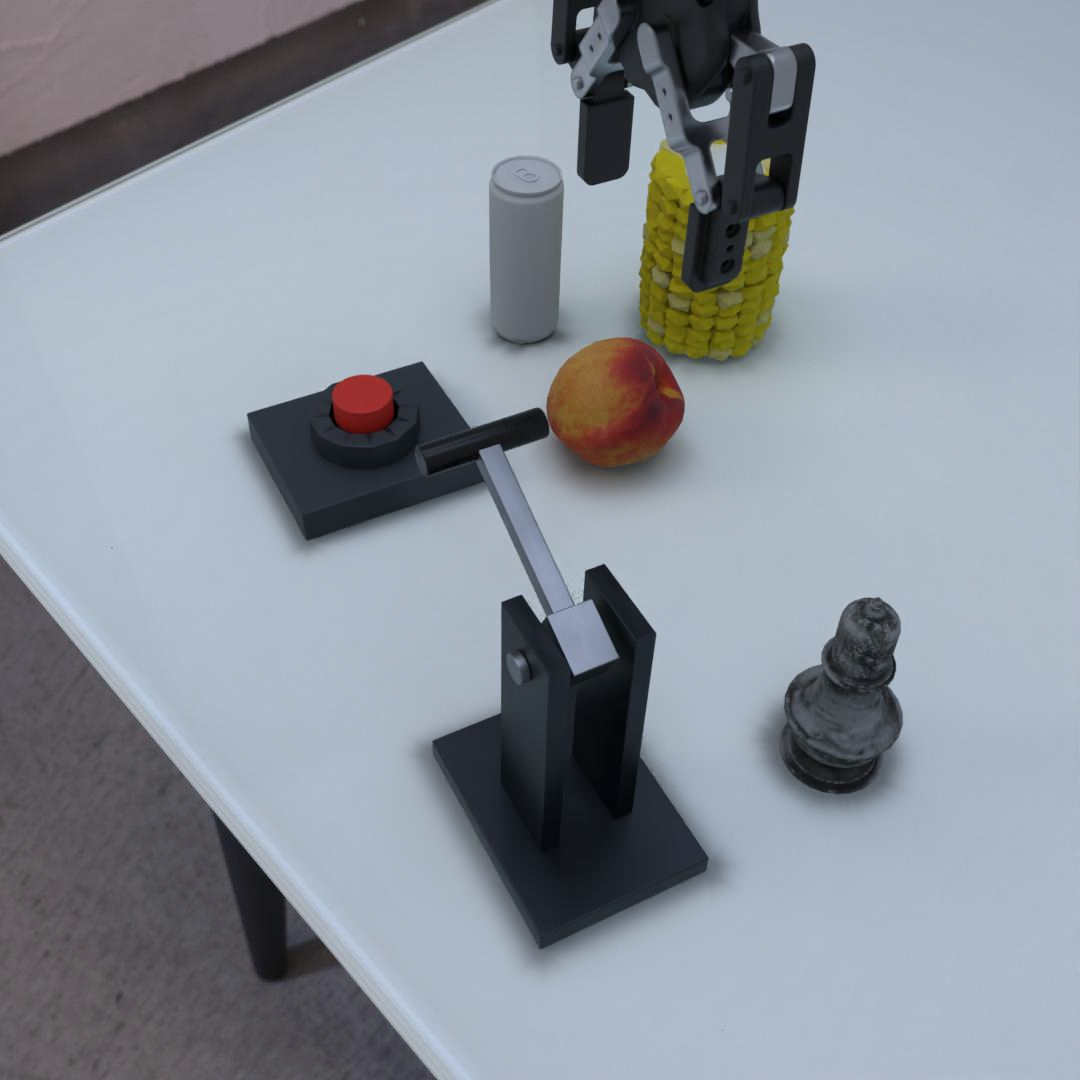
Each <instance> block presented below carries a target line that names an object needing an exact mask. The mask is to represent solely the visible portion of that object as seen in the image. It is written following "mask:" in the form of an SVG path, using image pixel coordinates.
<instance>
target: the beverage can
mask: <svg viewBox="0 0 1080 1080" xmlns="http://www.w3.org/2000/svg"><path fill="white" fill-rule="evenodd" d="M490 175H491V176H490V179H489V183H488V236H489V237H488V241H489V243H488V247H489V249H488V251H489V252H488V253H489V289H490V290H489V293H490V295H489V297H490V298H489V300H490V301H489V302H490V323H491V325H492V327H493V329H494V330H495V331H496V332H497V333H498V335H500V336H501V337H502V338H503V339H505V340H507V341H510V342H513V343H518V344H532V343H536V342H539V341H542V340H544V339H545V338H548V336H550V335H551V334H552V333H553V332H554V331H555V330H556V328H557V327H558V323H559V320H560V319H559V318H560V317H559V315H560V291H561V267H562V245H563V221H564V220H563V219H564V199H565V198H564V196H565V194H564V193H565V183H564V180H563V172H562V169H561V168H560V166H559V165H558V164H556V163H555V162H554V161H553V160H550V159H548V158H545V157H542V156H537V155H531V154H530V155H529V154H528V155H527V154H525V155H524V154H523V155H514V156H510V157H507V158H504V159H502V160H500V161H498V162H497V163H496V164H494V166H493V167H492V169H491V171H490Z"/></svg>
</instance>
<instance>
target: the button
mask: <svg viewBox="0 0 1080 1080" xmlns="http://www.w3.org/2000/svg"><path fill="white" fill-rule="evenodd" d="M340 381H341V382H340ZM340 381H338V382H339V383H338V384H337V385H336V387H335V388H334V390H333V393H332V399H333V408H334V416H335V421H336V423H337V424H338V425H339V427H341V428H342V429H343V430H345V431H347V432H349V433H358V434H371V433H374V432H377V431H380V430H383V429H384V428H386V427H387V426H388V425H389V424H390V423H391V422H392V420H393V417H394V404H393V392H392V388H391V386H390V385H389V383H388V382H386V381H385V380H384V379H382V378H380V377H377V376H374V375H373V374H355V375H350V376H348V377H346V378H344V379H342V380H340Z"/></svg>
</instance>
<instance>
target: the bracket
mask: <svg viewBox="0 0 1080 1080" xmlns="http://www.w3.org/2000/svg"><path fill="white" fill-rule="evenodd" d="M589 599H593V602H594V604H595V606H596V608H597V610H598V612H599V614H600V616H601V619H602V621H603V623H604V625H605V627H606V629H607V631H608V634H609V636H610V638H611V640H612V642H613V644H614V646H615V649H616V651H617V653H618V655H619V657H620V658H619V659H618V660H617V661H616V662H615V663H614V664H613V665H612V666H611V667H610V668H609V669H608V670H607V671H606V672H605V673H603V674H601V675H598V676H596V677H593V678H591V679H588V680H586V681H583V682H581V683H578V684H576V685H574V686H571V687H570V676H571V667H570V665H569V664H568V662H567V661H566V659H565V658H564V657H563V655H562V654H561V652H560V651H559V649H558V648H557V646H556V645H555V643H554V642H553V640H552V639H551V637H550V636H549V634H548V633H547V631H546V630H545V628H544V627H543V625H542V624H541V623H542V621H540V619H539V618H538V616H537V615H536V613H535V612H534V610H533V609H532V607H531V606H530V605H529V602H528V601H527V599H526V598H525V597H524V595H523V594H519V595H516V596H514V597H511V598H508V599H505V600H503V601H501V603H500V618H501V619H500V713H497V714H494V715H492V716H490V717H488V718H485V719H482V720H480V721H477V722H475V723H472V724H470V725H468V726H464V727H463V728H460V729H457V730H454V731H452V732H450V733H448V734H446V735H445V734H444V735H443V736H440V737H438V738H435V739H433V740H432V741H431V744H432V755H433V757H434V758H435V760H436V762H437V764H438V765H439V767H440V770H441V771H442V773H443V775H444V777H445V779H446V780H447V782H448V784H449V786H450V788H451V789H452V791H453V793H454V795H455V796H456V797H455V798H457V800H458V803H459V804H460V806H461V808H462V810H463V811H464V813H465V815H466V817H467V819H468V821H469V822H470V824H471V826H472V828H473V829H474V831H475V833H476V835H477V837H478V838H479V841H480V842H481V844H482V845H483V848H484V849H485V851H486V854H487V855H488V857H489V859H490V860H491V862H492V865H493V866H494V867H495V869H496V872H497V874H498V875H499V878H501V881H502V883H503V885H504V886H505V888H506V889H507V892H508V893H509V895H510V898H511V899H512V900H513V902H514V904H515V906H516V908H517V910H518V911H519V913H520V915H521V917H522V919H523V921H524V923H525V924H526V926H527V927H528V930H529V932H530V933H531V935H532V937H533V939H534V940H535V942H536V944H537V946H538V949H540V950H542V949H545V948H547V947H548V946H551V945H553V944H555V943H557V942H559V941H561V940H563V939H565V938H567V937H570V936H572V935H573V934H576V933H578V932H580V931H582V930H584V929H587V928H588V927H590V926H592V925H594V924H597V923H599V922H601V921H603V920H605V919H608V918H609V917H612V916H613V915H616V914H618V913H620V912H622V911H624V910H626V909H628V908H631V907H632V906H635V905H637V904H640V903H641V902H642V901H645V900H647V899H649V898H651V897H653V896H655V895H657V894H660V893H661V892H664V891H666V890H669V889H670V888H672V887H675V886H676V885H679V884H681V883H683V882H685V881H687V880H689V879H691V878H693V877H695V876H697V875H699V874H702V873H704V872H706V871H707V868H708V863H709V859H710V858H709V856H708V855H707V853H706V852H705V850H704V849H703V847H702V845H700V843H699V841H698V840H697V838H696V837H695V835H694V834H693V832H692V831H691V829H690V828H689V827H688V825H687V823H686V822H685V821H684V820H683V818H682V816H681V814H680V813H679V812H678V810H677V809H676V807H675V806H674V805H673V803H672V801H671V800H670V798H669V797H668V795H667V794H666V792H665V791H664V789H663V788H662V787H661V785H660V783H659V782H658V781H657V779H656V777H655V776H654V774H653V773H652V772H651V770H650V768H649V767H648V766H647V764H646V763H645V761H644V760H643V758H642V757H641V750H642V744H643V737H644V729H645V721H646V713H647V707H648V700H649V692H650V685H651V677H652V670H653V662H654V656H655V648H656V641H657V632H656V630H654V628H653V627H652V625H651V624H650V623H649V621H648V620H647V618H646V617H645V616H644V615H643V613H642V612H641V610H640V609H639V608H638V607H637V605H636V604H635V602H634V601H633V600H632V598H631V597H630V595H629V594H628V593H627V591H626V590H625V589H624V588H623V586H622V585H621V584H620V582H619V581H618V580H617V578H616V577H615V575H614V574H613V573H612V572H611V570H610V569H609V567H608V566H607V564H606V563H601V564H599V565H596V566H594V567H592V568H588V569H585V570H584V579H583V593H582V602H584V601H587V600H589Z"/></svg>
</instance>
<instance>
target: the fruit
mask: <svg viewBox="0 0 1080 1080" xmlns="http://www.w3.org/2000/svg"><path fill="white" fill-rule="evenodd" d="M683 393H684V392H682V389H681V387H680V384H679V383H678V381H677V379H676V377H675V375H674V373H673V371H672V369H671V367H670V366H669V365H668V363H667V361H666V360H665V358H664V356H663V355H662V354H661V353H660V352H659V351H658V349H656V348H655V347H654V346H653V345H650V344H648V343H647V342H644V341H642V340H640V339H637V338H634V337H630V336H629V337H628V336H623V337H622V336H616V337H610V338H605V339H601V340H597V341H595V342H592V343H590V344H588V345H586V346H584V347H583V348H581V349H579V350H578V351H577V352H576V353H575V354H573V355H572V356H570V357H569V358H568V359H566V360H565V362H564V363H563V364H562V366H560V368H559V369H558V371H557V373H556V375H555V377H554V379H553V381H552V383H551V385H550V387H549V391H548V393H547V397H546V403H545V404H546V405H545V408H546V417H547V420H548V423H549V428H550V429H551V431H552V433H553V434H554V435H555V436H556V438H557V439H558V440H559V442H561V443H562V444H563V445H564V446H565V447H566V448H567V449H568V450H569V451H571V452H572V453H573V454H575V455H577V456H578V457H579V458H580V459H581V460H583V461H584V462H585V463H588V464H591V465H593V466H596V467H605V468H608V467H619V466H626V465H630V464H637V463H641V462H644V461H646V460H648V459H650V458H651V457H653V456H654V455H657V454H658V453H659V452H660V451H661V450H662V449H663V448H664V447H665V446H666V445H667V444H668V442H669V441H670V440H671V439H672V438H673V437H674V435H675V434H676V432H677V431H678V430H679V428H680V426H681V424H682V423H683V421H684V416H685V411H686V401H685V396H684V394H683Z"/></svg>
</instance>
